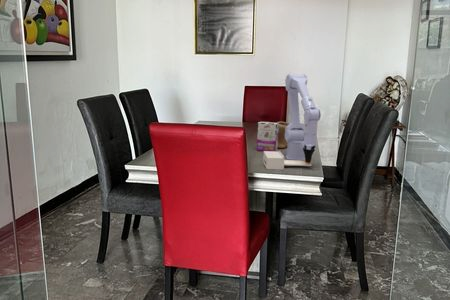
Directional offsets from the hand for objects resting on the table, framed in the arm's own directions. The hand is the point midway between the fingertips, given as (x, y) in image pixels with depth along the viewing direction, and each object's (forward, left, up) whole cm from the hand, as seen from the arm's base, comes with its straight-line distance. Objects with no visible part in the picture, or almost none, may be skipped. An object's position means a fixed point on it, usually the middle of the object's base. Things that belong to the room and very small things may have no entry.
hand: (308, 161), depth 196 cm
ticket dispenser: (+17, 0, -3) cm, 17 cm away
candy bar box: (+16, -32, -3) cm, 36 cm away
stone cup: (+6, -45, -3) cm, 45 cm away
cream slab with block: (+6, 0, -1) cm, 6 cm away
